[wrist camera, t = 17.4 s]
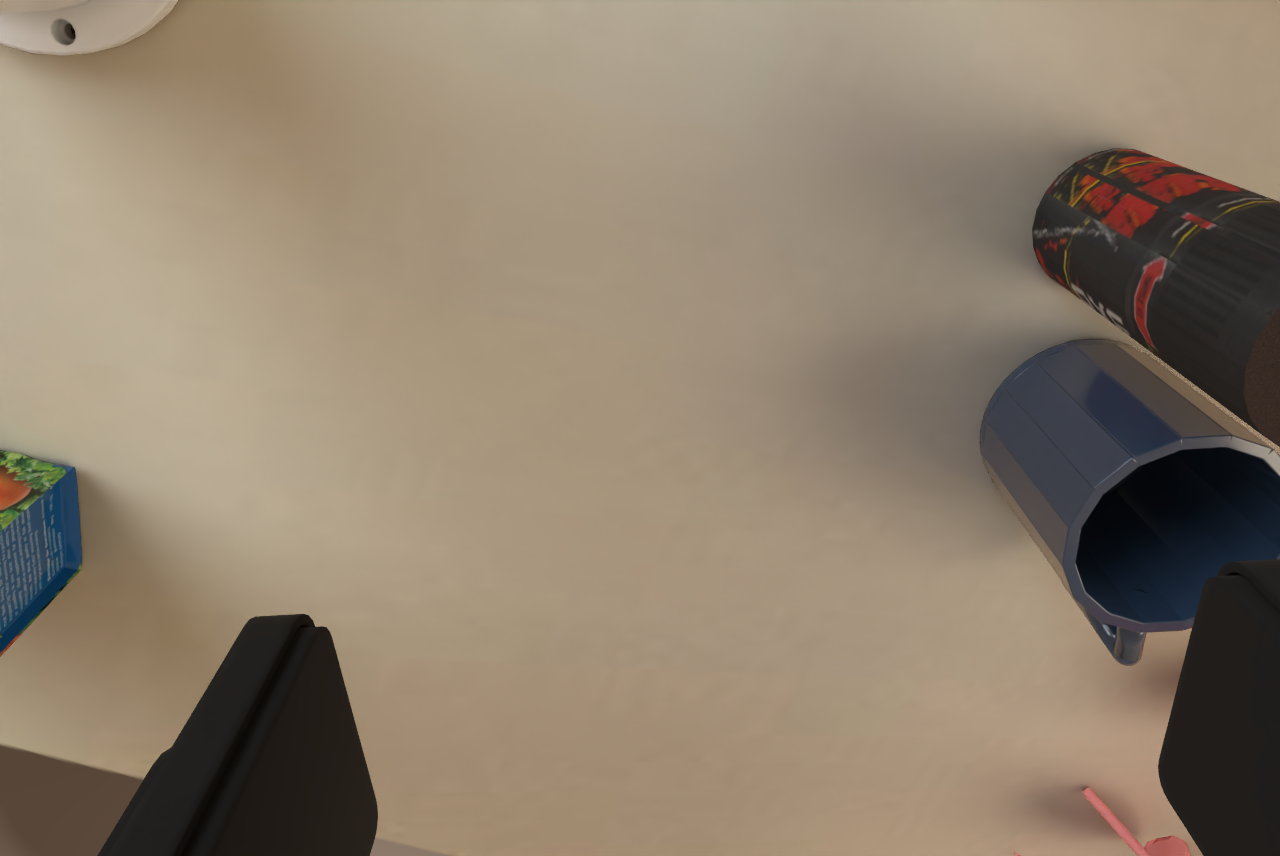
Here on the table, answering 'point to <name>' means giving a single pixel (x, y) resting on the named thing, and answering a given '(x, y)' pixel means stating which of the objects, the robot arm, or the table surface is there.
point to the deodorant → (1174, 270)
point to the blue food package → (35, 539)
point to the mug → (1129, 485)
